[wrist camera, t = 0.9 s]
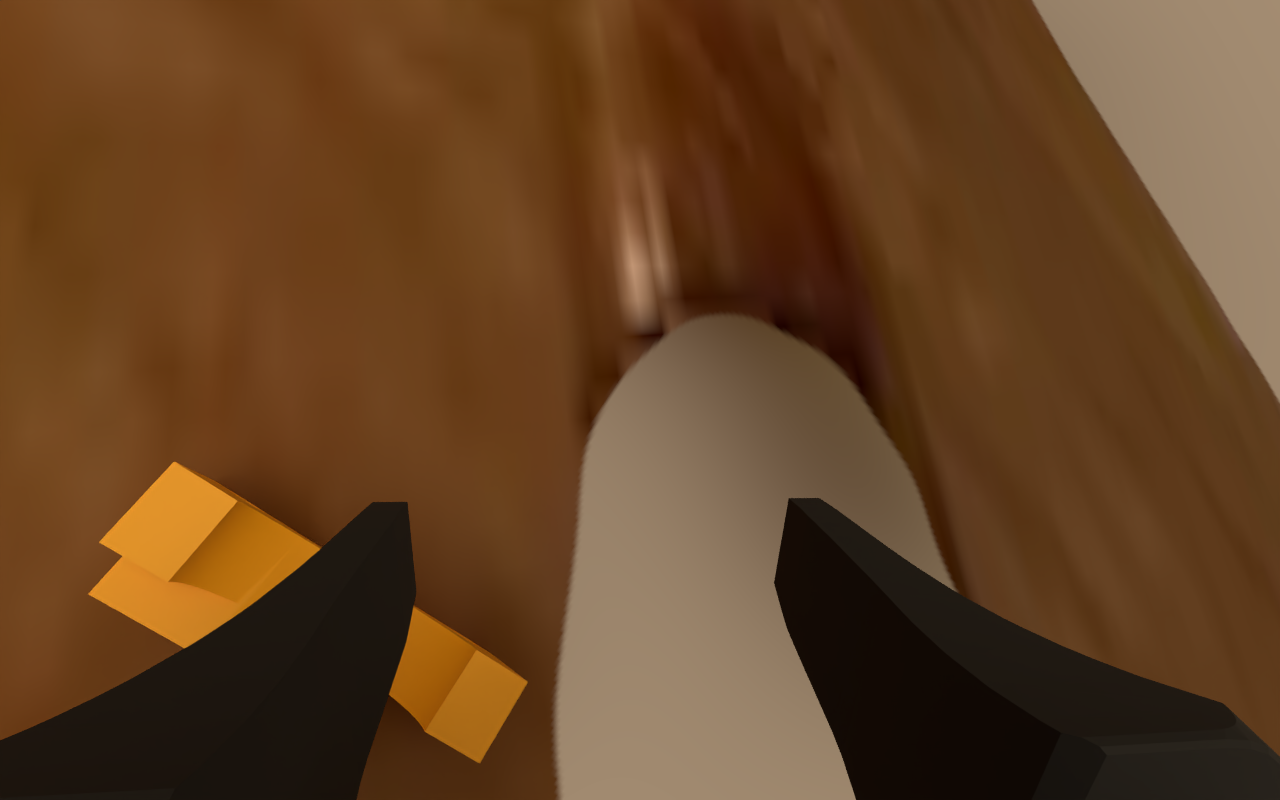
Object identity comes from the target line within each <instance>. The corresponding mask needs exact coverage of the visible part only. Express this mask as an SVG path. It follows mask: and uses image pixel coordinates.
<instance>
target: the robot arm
mask: <svg viewBox="0 0 1280 800" xmlns="http://www.w3.org/2000/svg"><path fill="white" fill-rule="evenodd" d="M774 584H775V588H776V591H777V595H778V598H779V602H780V606H781V610H782V613H783V616H784V620H785V623H786V626H787V629H788V632H789V634H790V637H791V639H792V641H793V644H794V646H795V648H796V651H797V653H798V655H799V657H800V660H801V662H802V664H803V666H804V669H805V671H806V673H807V676H808V678H809V680H810V682H811V685H812V687H813V689H814V691H815V694H816V696H817V698H818V700H819V703H820V705H821V707H822V709H823V712H824V714H825V716H826V718H827V721H828V723H829V725H830V728H831V730H832V732H833V735H834V737H835V740H836V742H837V745H838V747H839V750H840V752H841V755H842V758H843V761H844V764H845V767H846V770H847V773H848V776H849V779H850V782H851V785H852V788H853V791H854V794H855V798H856V800H1280V757H1279V756H1278V755H1277V754H1276V753H1275V752H1274V751H1273V750H1272V749H1271V748H1270V747H1269V746H1268V745H1267V744H1266V743H1265V742H1264V741H1263V740H1261V739H1260V738H1259V737H1258V736H1257V735H1256V734H1255V733H1254V732H1253V731H1252V730H1251V729H1250V728H1249V727H1248V726H1247V725H1246V724H1245V723H1243V722H1242V721H1241V720H1240V719H1239V718H1238V717H1237V716H1236V715H1235V714H1234V713H1233V712H1232V711H1231V710H1230V709H1229V708H1228V707H1226V706H1225V705H1224V704H1223V703H1220V702H1217V701H1214V700H1211V699H1208V698H1205V697H1202V696H1199V695H1195V694H1192V693H1189V692H1186V691H1183V690H1180V689H1177V688H1174V687H1170V686H1167V685H1164V684H1161V683H1158V682H1155V681H1152V680H1149V679H1146V678H1143V677H1140V676H1137V675H1134V674H1132V673H1129V672H1126V671H1124V670H1121V669H1118V668H1116V667H1113V666H1111V665H1108V664H1105V663H1103V662H1100V661H1097V660H1095V659H1092V658H1090V657H1087V656H1085V655H1083V654H1080V653H1078V652H1075V651H1073V650H1070V649H1068V648H1066V647H1063V646H1061V645H1059V644H1057V643H1054V642H1052V641H1050V640H1048V639H1046V638H1044V637H1041V636H1039V635H1037V634H1035V633H1033V632H1031V631H1028V630H1026V629H1024V628H1022V627H1020V626H1018V625H1016V624H1014V623H1012V622H1010V621H1008V620H1006V619H1004V618H1002V617H1000V616H998V615H996V614H995V613H993V612H991V611H989V610H987V609H985V608H984V607H982V606H980V605H978V604H976V603H974V602H973V601H971V600H969V599H967V598H965V597H964V596H962V595H960V594H959V593H957V592H955V591H953V590H952V589H950V588H948V587H947V586H945V585H944V584H942V583H941V582H939V581H937V580H936V579H934V578H933V577H931V576H930V575H928V574H927V573H925V572H923V571H922V570H920V569H919V568H917V567H916V566H914V565H913V564H911V563H910V562H908V561H907V560H905V559H904V558H902V557H901V556H900V555H898V554H897V553H895V552H894V551H893V550H891V549H890V548H888V547H887V546H886V545H884V544H883V543H881V542H880V541H879V540H877V539H876V538H875V537H873V536H872V535H870V534H869V533H868V532H866V531H865V530H864V529H862V528H861V527H860V526H858V525H857V524H855V523H854V522H853V521H851V520H850V519H848V518H847V517H846V516H844V515H843V514H842V513H840V512H839V511H838V510H836V509H835V508H833V507H832V506H830V505H829V504H827V503H826V502H824V501H823V500H821V499H819V498H789V500H788V507H787V512H786V517H785V523H784V529H783V535H782V540H781V546H780V552H779V558H778V564H777V569H776V575H775V581H774ZM415 596H416V583H415V573H414V563H413V553H412V543H411V533H410V523H409V514H408V504H407V502H373V503H371V504H370V505H369V506H368V507H367V508H366V509H364V510H363V511H362V512H361V513H360V514H359V515H358V516H357V517H355V518H354V519H353V520H352V521H351V522H350V523H349V524H348V525H347V526H345V527H344V528H343V529H342V530H341V531H340V532H339V533H338V534H337V535H336V536H334V537H333V538H332V539H331V540H330V541H329V542H328V543H327V544H326V545H324V546H323V547H322V548H321V549H320V550H319V551H317V552H316V553H315V554H314V555H313V556H312V557H311V558H309V559H308V560H307V561H306V562H305V563H304V564H302V565H301V566H300V567H299V568H298V569H296V570H295V571H294V572H293V573H291V574H290V575H289V576H287V577H286V578H285V579H284V580H282V581H281V582H280V583H279V584H277V585H276V586H275V587H273V588H272V589H271V590H270V591H268V592H267V593H266V594H265V595H263V596H262V597H261V598H260V599H258V600H257V601H256V602H254V603H253V604H251V605H250V606H249V607H247V608H246V609H244V610H243V611H242V612H240V613H239V614H237V615H236V616H234V617H233V618H232V619H230V620H229V621H227V622H226V623H224V624H223V625H221V626H219V627H218V628H216V629H215V630H213V631H212V632H210V633H209V634H207V635H206V636H204V637H203V638H201V639H199V640H198V641H196V642H195V643H193V644H191V645H190V646H188V647H186V648H185V649H183V650H181V651H179V652H178V653H176V654H174V655H172V656H171V657H169V658H167V659H165V660H164V661H162V662H160V663H158V664H157V665H155V666H153V667H151V668H150V669H148V670H146V671H144V672H143V673H141V674H139V675H137V676H136V677H134V678H132V679H130V680H128V681H126V682H124V683H123V684H121V685H119V686H117V687H115V688H113V689H111V690H109V691H107V692H105V693H103V694H101V695H99V696H97V697H95V698H93V699H91V700H89V701H87V702H85V703H83V704H81V705H79V706H77V707H74V708H72V709H70V710H68V711H66V712H64V713H62V714H60V715H58V716H56V717H53V718H51V719H49V720H47V721H45V722H42V723H40V724H38V725H36V726H33V727H31V728H29V729H27V730H24V731H22V732H20V733H17V734H15V735H12V736H10V737H8V738H5V739H3V740H0V800H356V799H357V794H358V790H359V786H360V782H361V778H362V775H363V771H364V768H365V765H366V761H367V758H368V755H369V752H370V749H371V746H372V743H373V740H374V737H375V734H376V731H377V728H378V725H379V722H380V719H381V716H382V713H383V710H384V707H385V704H386V702H387V699H388V696H389V693H390V690H391V687H392V684H393V681H394V678H395V675H396V672H397V669H398V666H399V663H400V660H401V657H402V654H403V651H404V648H405V644H406V641H407V636H408V632H409V627H410V622H411V617H412V612H413V606H414V601H415Z"/></svg>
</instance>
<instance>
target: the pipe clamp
mask: <svg viewBox="0 0 1280 800" xmlns="http://www.w3.org/2000/svg"><path fill="white" fill-rule="evenodd" d="M99 543H101V544H103V545H105V546H106V547H108V548H110V549H111V550H113V551H115V552H117V553H118V554H120V555H122V557H121V559H120V560H119V561H118V562H117V563H116V564H115V565H114V566H113V567H112V568H111V570H110V571H109V572H108V573H107V574H106V575H105V576H104V577H103V578H102V579H101V581H100V582H99V583H98V584H97V585H96V586H95V587H94V588H93V589H92V591H91V592H90V593H89V595H91V596H92V597H94V598H96V599H98V600H100V601H101V602H103V603H105V604H107V605H108V606H110V607H112V608H114V609H116V610H117V611H119V612H121V613H123V614H124V615H126V616H128V617H130V618H132V619H133V620H135V621H137V622H139V623H140V624H142V625H144V626H146V627H148V628H149V629H151V630H153V631H155V632H156V633H158V634H160V635H162V636H164V637H165V638H167V639H169V640H171V641H172V642H174V643H176V644H178V645H180V646H181V647H183V648H186V647H188V646H190V645H191V644H193V643H195V642H196V641H198V640H199V639H201V638H203V637H204V636H206V635H207V634H209V633H210V632H212V631H213V630H215V629H216V628H218V627H219V626H221V625H223V624H224V623H226V622H227V621H229V620H230V619H232V618H233V617H234V616H236V615H237V614H239V613H240V612H242V611H243V610H244V609H246V608H247V607H249V606H250V605H251V604H253V603H254V602H256V601H257V600H258V599H260V598H261V597H262V596H263V595H265V594H266V593H267V592H268V591H270V590H271V589H272V588H273V587H275V586H276V585H277V584H279V583H280V582H281V581H282V580H284V579H285V578H286V577H287V576H289V575H290V574H291V573H293V572H294V571H295V570H296V569H298V568H299V567H300V566H301V565H302V564H304V563H305V562H306V561H307V560H308V559H309V558H311V557H312V556H313V555H314V554H315V553H316V552H317V551H319V550H320V549H321V548H322V547H320V546H318V545H317V544H315V543H314V542H312V541H311V540H309V539H307V538H306V537H304V536H303V535H301V534H299V533H298V532H296V531H295V530H293V529H291V528H290V527H288V526H287V525H285V524H283V523H282V522H280V521H279V520H277V519H275V518H274V517H272V516H271V515H269V514H267V513H266V512H264V511H263V510H261V509H259V508H258V507H256V506H255V505H253V504H251V503H250V502H248V501H247V500H245V499H243V498H242V497H240V496H239V495H237V494H235V493H234V492H232V491H231V490H229V489H227V488H226V487H224V486H223V485H221V484H219V483H218V482H216V481H214V480H212V479H210V478H208V477H206V476H204V475H202V474H200V473H197V472H195V471H193V470H191V469H189V468H187V467H185V466H183V465H181V464H179V463H177V462H173V463H172V464H171V466H170V467H169V468H168V469H167V470H166V471H165V472H164V473H163V474H162V475H161V476H160V477H159V478H158V479H157V481H156V482H155V483H154V484H153V485H152V486H151V487H150V488H149V489H148V490H147V491H146V492H145V493H144V495H143V496H142V497H141V498H140V499H139V500H138V501H137V502H136V503H135V504H134V505H133V506H132V507H131V509H130V510H129V511H128V512H127V513H126V514H125V515H124V516H123V517H122V518H121V519H120V520H119V521H118V522H117V524H116V525H115V526H114V527H113V528H112V529H111V530H110V531H109V532H108V533H107V534H106V535H105V536H104V538H103V539H102V540H101V541H100V542H99ZM527 683H528V681H526V680H525V679H524V678H522V677H521V676H520V675H518V674H517V673H516V672H514V671H513V670H512V669H511V668H509V667H508V666H507V665H505V664H504V663H503V662H501V661H500V660H499V659H498V658H496V657H495V656H494V655H492V654H491V653H490V652H488V651H486V650H485V649H483V648H482V647H480V646H478V645H477V644H475V643H474V642H472V641H470V640H469V639H467V638H466V637H464V636H462V635H461V634H459V633H458V632H456V631H454V630H453V629H451V628H450V627H448V626H446V625H445V624H443V623H442V622H440V621H438V620H437V619H435V618H434V617H432V616H430V615H429V614H427V613H426V612H424V611H422V610H421V609H419V608H418V607H416V606H413V612H412V617H411V622H410V627H409V632H408V636H407V641H406V644H405V648H404V651H403V654H402V657H401V660H400V663H399V666H398V669H397V672H396V675H395V678H394V681H393V684H392V687H391V690H390V693H389V695H390V696H391V697H392V698H394V699H395V700H396V701H397V702H398V703H400V704H401V705H402V706H403V707H404V708H405V709H406V710H407V711H408V712H409V713H410V714H411V715H412V716H413V717H414V718H415V719H416V720H417V721H418V722H419V723H420V725H421V726H422V727H423V729H424V731H425V732H426V733H428V734H430V735H431V736H433V737H435V738H437V739H438V740H440V741H442V742H443V743H445V744H447V745H449V746H450V747H452V748H454V749H455V750H457V751H459V752H461V753H462V754H464V755H466V756H468V757H469V758H471V759H473V760H474V761H476V762H478V763H480V762H481V760H482V759H483V757H484V755H485V754H486V752H487V750H488V749H489V747H490V745H491V744H492V742H493V740H494V738H495V737H496V735H497V733H498V732H499V730H500V728H501V727H502V725H503V723H504V722H505V720H506V718H507V716H508V715H509V713H510V711H511V710H512V708H513V706H514V705H515V703H516V701H517V700H518V698H519V696H520V695H521V693H522V691H523V689H524V688H525V686H526V684H527Z"/></svg>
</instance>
